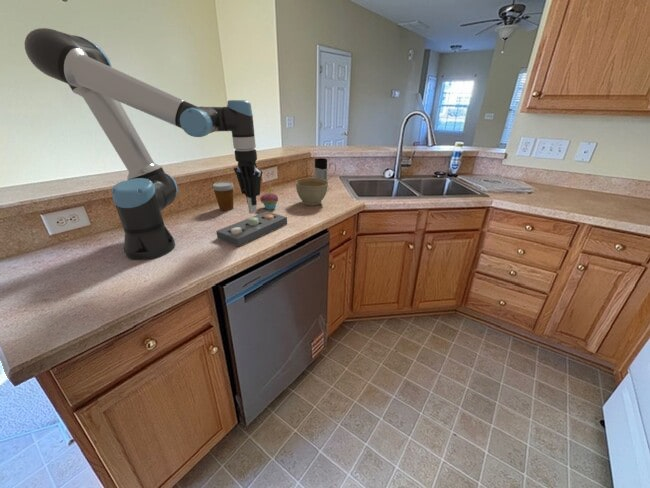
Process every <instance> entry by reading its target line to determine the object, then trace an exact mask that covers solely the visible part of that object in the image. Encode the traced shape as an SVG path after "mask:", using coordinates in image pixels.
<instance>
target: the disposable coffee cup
mask: <svg viewBox="0 0 650 488" xmlns="http://www.w3.org/2000/svg"><path fill="white" fill-rule="evenodd" d="M234 187H235V185H234V184H233V182H231V181H218V182H214V183H213V184H212V189H213V192H214V194H215V195H214V196H215V198H216V201H217V204H218V205H217V206H218V209H219V210H220V211H221V212H222V211H223V212H224V211H225V212H226V211H231V210H233V209H234Z"/></svg>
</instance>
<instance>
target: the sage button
mask: <svg viewBox="0 0 650 488" xmlns="http://www.w3.org/2000/svg"><path fill="white" fill-rule="evenodd" d="M247 219H248V225H249V226H251V227H255V226H257V225H259V221H258V218H257V217H253V216H251V217H248V218H247Z"/></svg>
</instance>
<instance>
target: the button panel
mask: <svg viewBox="0 0 650 488" xmlns="http://www.w3.org/2000/svg"><path fill="white" fill-rule="evenodd" d="M267 214H272V215H274V219H271V220H266V219H264V215H267ZM252 217H257V218H258V221H259V225H257V226H255V227H251V226H249V225H248V218H246V219H243V220H241V221H238V222H235V223H234V224H231V225H228V226H225V227H223V228H220V229H218V230H216V231H215V232H216V237H217V239H218V240H220V241H224V242H226V243H228V244H231V245H233V246H235V247H241V246H243V245H245V244H247V243H250V242H252V241H253V240H256V239H258V238H260V237H263V236H265V235H267V234H269V233H272V231H275V230H277V229H280V228H282V227H283V226H285V225H287V224H288V217H287V216H284V215H280V214H277V213H273V212H270V211H267V210H266V211H264V212H261V213H259V214H256V215H253V216H252ZM235 227H240V228H242V232H241V233H239V234H236V235H235V234H232V233H231V229H232V228H235Z"/></svg>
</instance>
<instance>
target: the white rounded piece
mask: <svg viewBox="0 0 650 488" xmlns="http://www.w3.org/2000/svg"><path fill="white" fill-rule="evenodd" d="M241 232H242V228H240V227H235V228H232V229H231V233H232V234H235V235H236V234H239V233H241Z"/></svg>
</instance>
